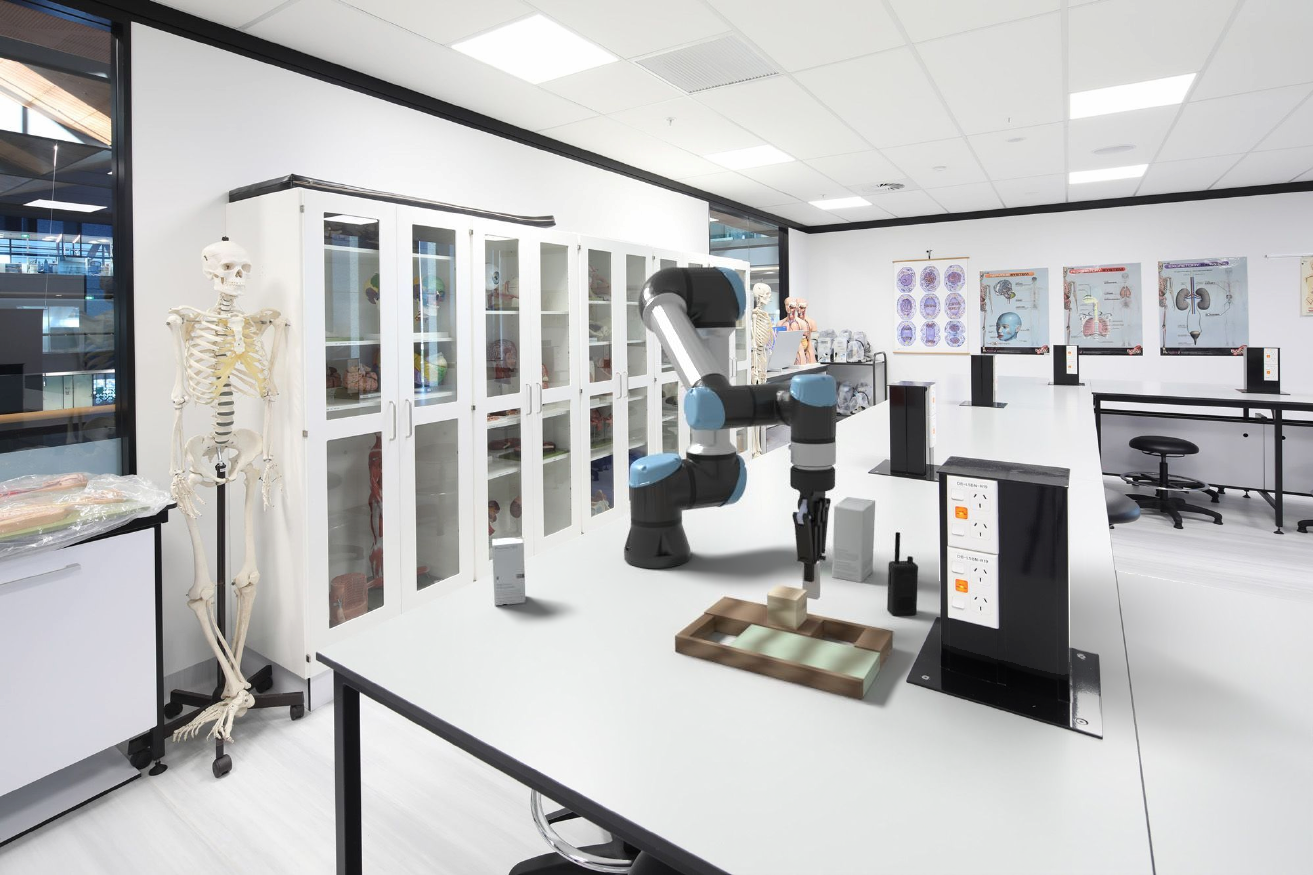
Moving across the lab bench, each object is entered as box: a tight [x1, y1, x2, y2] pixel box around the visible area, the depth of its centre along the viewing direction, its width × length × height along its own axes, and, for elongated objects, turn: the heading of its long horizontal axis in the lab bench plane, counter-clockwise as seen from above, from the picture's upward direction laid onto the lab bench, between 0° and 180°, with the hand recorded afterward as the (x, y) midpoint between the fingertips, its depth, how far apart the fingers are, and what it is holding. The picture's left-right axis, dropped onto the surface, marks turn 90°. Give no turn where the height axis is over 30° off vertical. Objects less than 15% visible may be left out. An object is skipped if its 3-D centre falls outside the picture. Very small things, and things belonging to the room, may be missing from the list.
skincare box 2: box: [831, 496, 876, 584], centre depth 143 cm, size 8×7×16 cm
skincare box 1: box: [491, 536, 526, 606], centre depth 134 cm, size 6×4×12 cm
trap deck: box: [674, 596, 894, 701], centre depth 111 cm, size 30×18×3 cm, turn 58°
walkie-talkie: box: [886, 531, 919, 617], centre depth 124 cm, size 5×3×15 cm
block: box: [766, 584, 808, 630], centre depth 115 cm, size 5×5×5 cm
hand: (811, 596), depth 122 cm, fingers closed
